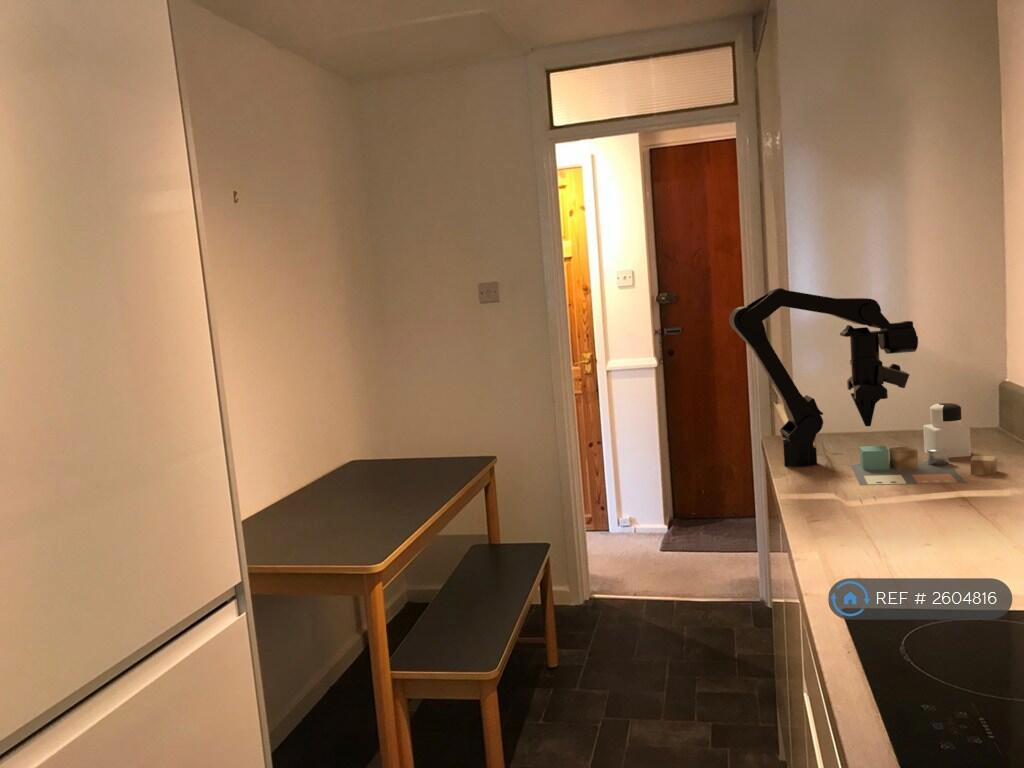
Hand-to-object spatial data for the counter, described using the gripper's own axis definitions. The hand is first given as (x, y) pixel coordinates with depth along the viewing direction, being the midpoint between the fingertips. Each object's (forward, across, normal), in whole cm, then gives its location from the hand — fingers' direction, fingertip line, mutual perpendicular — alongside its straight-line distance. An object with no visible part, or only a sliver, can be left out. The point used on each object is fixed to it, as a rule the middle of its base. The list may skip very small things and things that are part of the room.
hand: (867, 426), depth 184 cm
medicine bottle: (+8, +3, -16) cm, 19 cm away
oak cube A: (+7, -9, -6) cm, 13 cm away
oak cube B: (+6, -14, -17) cm, 23 cm away
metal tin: (+7, -6, -13) cm, 16 cm away
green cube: (+7, -8, 0) cm, 11 cm away
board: (+8, -14, -5) cm, 17 cm away
